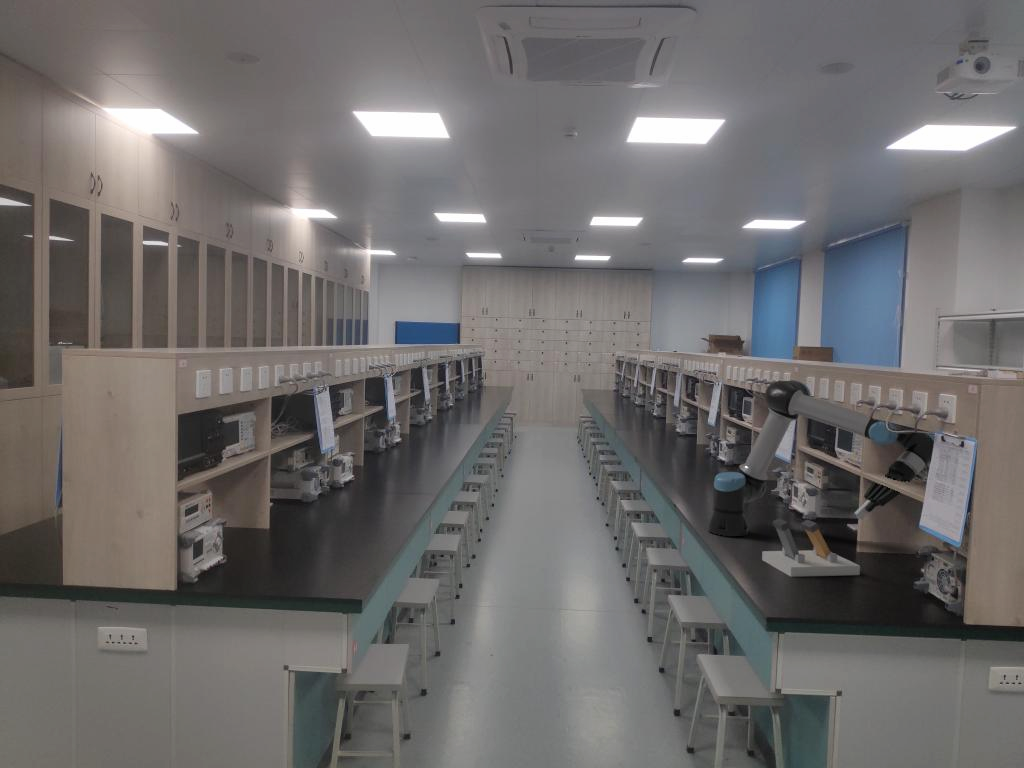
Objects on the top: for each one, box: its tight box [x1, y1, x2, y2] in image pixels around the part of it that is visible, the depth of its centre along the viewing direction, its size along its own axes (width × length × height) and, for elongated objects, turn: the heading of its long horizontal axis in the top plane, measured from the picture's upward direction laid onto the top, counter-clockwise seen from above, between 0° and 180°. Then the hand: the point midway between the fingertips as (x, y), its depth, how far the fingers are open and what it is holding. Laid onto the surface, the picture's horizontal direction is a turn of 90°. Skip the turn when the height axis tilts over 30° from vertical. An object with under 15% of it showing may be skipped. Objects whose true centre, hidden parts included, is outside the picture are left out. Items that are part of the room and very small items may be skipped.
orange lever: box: [800, 519, 832, 559], centre depth 214 cm, size 5×3×13 cm
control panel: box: [761, 546, 861, 578], centre depth 214 cm, size 17×24×6 cm
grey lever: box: [772, 517, 799, 559], centre depth 212 cm, size 5×3×13 cm, turn 8°
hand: (857, 516), depth 216 cm, fingers closed
